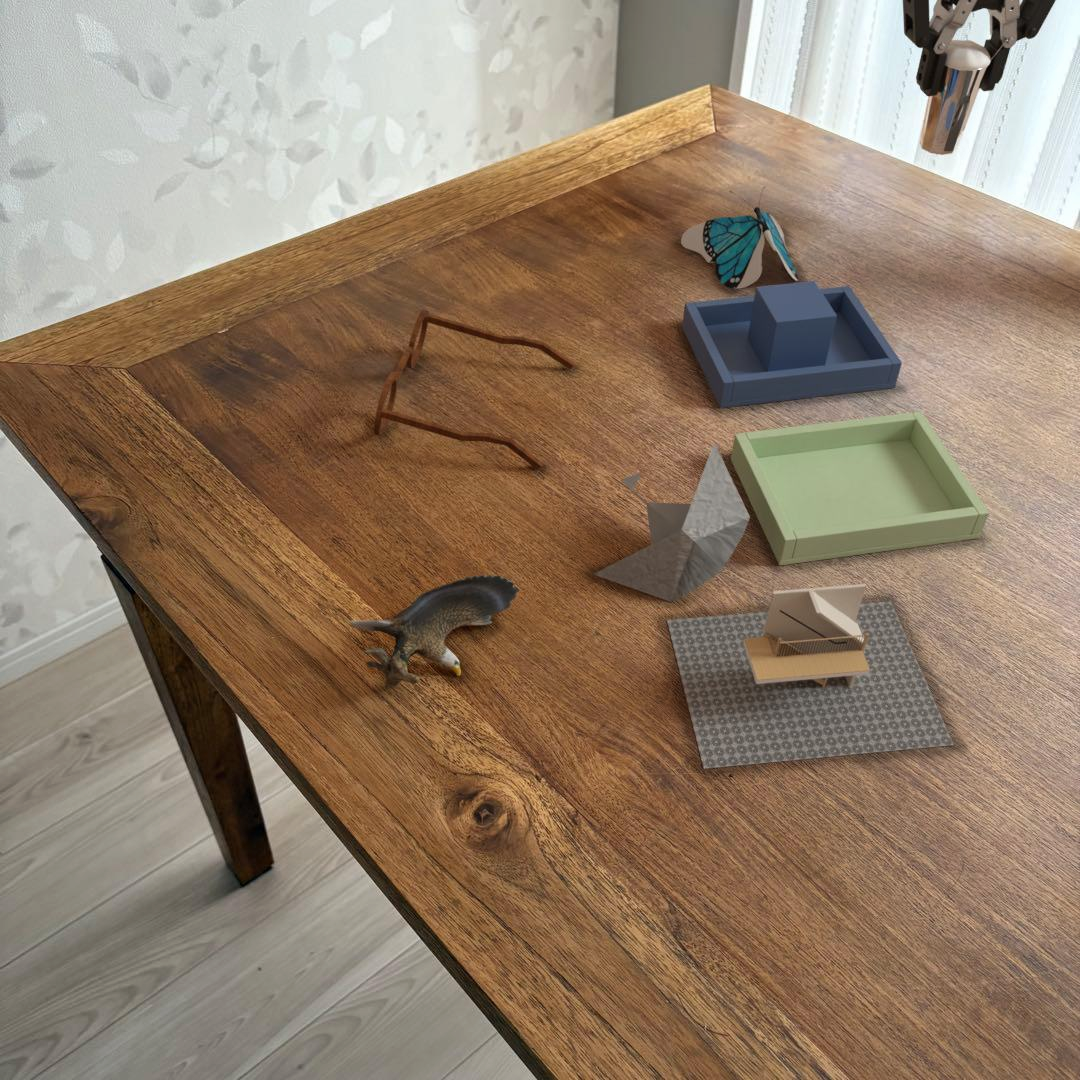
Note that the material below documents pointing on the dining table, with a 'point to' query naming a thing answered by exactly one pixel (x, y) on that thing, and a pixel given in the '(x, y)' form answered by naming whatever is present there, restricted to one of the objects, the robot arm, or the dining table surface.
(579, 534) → the dining table surface
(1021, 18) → the robot arm
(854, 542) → the green tray
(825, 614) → the architectural model
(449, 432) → the glasses
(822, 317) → the block
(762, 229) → the decorative butterfly
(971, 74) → the milkshake
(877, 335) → the blue tray
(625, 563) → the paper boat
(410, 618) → the eagle figurine
